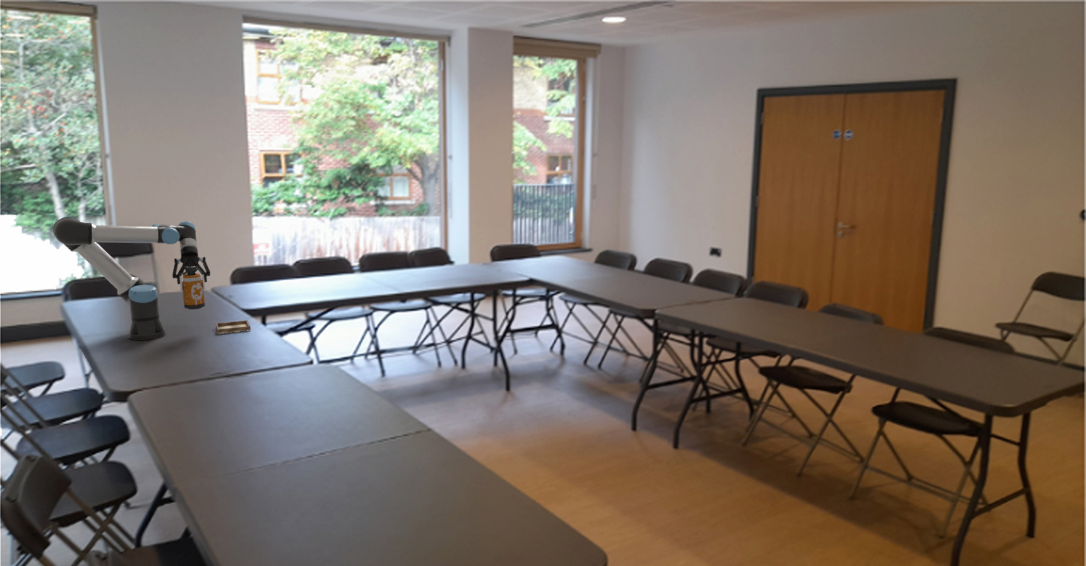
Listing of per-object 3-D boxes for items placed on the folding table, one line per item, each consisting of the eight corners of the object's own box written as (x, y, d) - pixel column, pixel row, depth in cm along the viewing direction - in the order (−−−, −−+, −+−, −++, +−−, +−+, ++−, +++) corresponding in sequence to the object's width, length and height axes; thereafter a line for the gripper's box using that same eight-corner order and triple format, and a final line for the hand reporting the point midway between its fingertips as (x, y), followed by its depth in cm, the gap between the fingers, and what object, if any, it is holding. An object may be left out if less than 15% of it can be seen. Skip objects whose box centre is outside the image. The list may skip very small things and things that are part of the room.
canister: (190, 311, 354) (186, 268, 350) (178, 307, 361) (174, 266, 357) (209, 307, 361) (204, 265, 357) (196, 304, 368) (192, 263, 363)
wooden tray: (217, 334, 360) (217, 329, 360) (215, 327, 372) (215, 323, 372) (250, 330, 367) (250, 326, 366) (247, 324, 378) (247, 320, 378)
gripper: (213, 253, 375) (218, 290, 364) (164, 256, 365) (167, 294, 354) (213, 243, 369) (218, 281, 358) (163, 246, 360) (166, 285, 349)
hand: (192, 288), depth 356 cm, fingers closed on canister, 9 cm apart
